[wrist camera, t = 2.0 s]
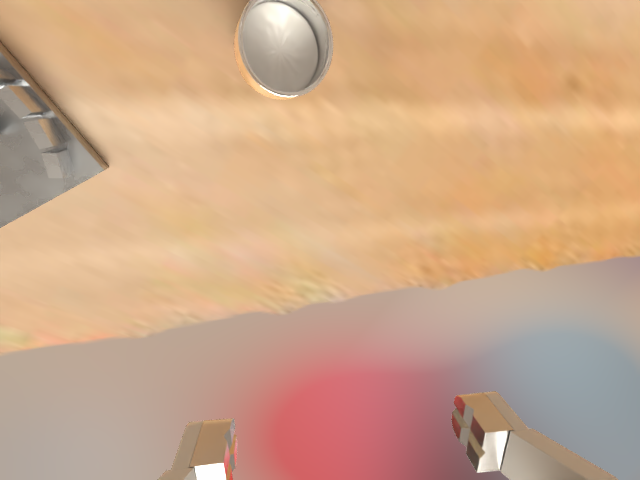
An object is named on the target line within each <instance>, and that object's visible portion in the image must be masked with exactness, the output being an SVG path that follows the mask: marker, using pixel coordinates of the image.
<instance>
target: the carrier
mask: <svg viewBox="0 0 640 480" xmlns="http://www.w3.org/2000/svg"><path fill="white" fill-rule="evenodd" d="M107 168H109V167H108V165H107V164H106V163H105V162H104V161H103V160H102V159H101V157H100V156H99V155H98V154H97V153H96V152H95V150H94V149H93V148H92V147H91V146H90V145H89V144H88V142H87V141H86V140H85V139H84V138H83V137H82V135H81V134H80V133H79V132H78V131H77V130H76V129H75V127H74V126H73V125H72V124H71V123H70V122H69V120H68V119H67V118H66V117H65V116H64V115H63V113H62V112H61V111H60V110H59V109H58V108H57V107H56V105H55V104H54V103H53V102H52V101H51V100H50V98H49V97H48V96H47V95H46V94H45V93H44V92H43V90H42V89H41V88H40V87H39V86H38V85H37V83H36V82H35V81H34V80H33V79H32V78H31V77H30V75H29V74H28V73H27V72H26V71H25V70H24V68H23V67H22V66H21V65H20V64H19V63H18V61H17V60H16V59H15V58H14V57H13V56H12V55H11V53H10V52H9V51H8V50H7V49H6V48H5V46H4V45H3V44H2V43H1V42H0V228H1V227H3V226H5V225H6V224H8V223H10V222H12V221H14V220H15V219H17V218H19V217H21V216H23V215H24V214H26V213H28V212H30V211H32V210H33V209H35V208H37V207H39V206H41V205H42V204H44V203H46V202H48V201H50V200H52V199H53V198H55V197H57V196H59V195H61V194H62V193H64V192H66V191H68V190H70V189H71V188H73V187H75V186H77V185H79V184H80V183H82V182H84V181H86V180H88V179H89V178H91V177H93V176H95V175H97V174H98V173H100V172H102V171H104V170H106V169H107Z"/></svg>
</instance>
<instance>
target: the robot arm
mask: <svg viewBox="0 0 640 480" xmlns="http://www.w3.org/2000/svg"><path fill="white" fill-rule="evenodd" d="M454 405H455V406H456V409H455V410H454V411H453V412H452V418H451V420H452V426H453V430H454V433H455V435H456V437H457V439H458V440H459V442H460V443H462V444H463V445H465V446H466V447H467V448H466V454H467V456H468V458H469V459H470V461H471V463H472V465H473V466H474V468H475V470H476V472H489V471H499V470H501V473H503V474H504V475H505V476H506V477H507V478H508V479H510V480H618V479H617V478H616V477H615V476H613V475H611V474H609V473H608V472H606V471H604V470H602V469H601V468H599V467H597V466H596V465H594V464H592V463H591V462H589V461H587V460H585V459H584V458H582V457H580V456H579V455H577V454H575V453H573V452H572V451H570V450H568V449H567V448H565V447H563V446H562V445H560V444H558V443H556V442H555V441H553V440H551V439H549V438H548V437H546V436H544V435H543V434H541V433H539V432H537V431H536V430H534V429H528V428H527V427H526V425H525V424H524V423H523V422H522V421H521V419H520V418H519V417H518V416H517V415H516V413H515V412H514V411H513V410H512V409H511V407H510V406H509V405H508V404H507V403H506V402H505V400H504V399H503V398H502V397H501V396H500V394H499V393H497V392H496V391H493V392H484V393H474V394H465V395H457V396H456V397H455V398H454ZM234 430H235V423H234V419H219V420H205V421H195V422H189V423H188V424H187V426H186V428H185V431H184V434H183V436H182V440H181V442H180V445H179V448H178V451H177V454H176V457H175V460H174V463H173V465H172V468H171V470H168V471H165V472H164V473H163V475H162V476H161V477H160V478H159V479H158V480H233V476H232V471H233V470H234V469H235V467H236V460H237V437H236V435H235V434H234Z"/></svg>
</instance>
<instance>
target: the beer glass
mask: <svg viewBox="0 0 640 480" xmlns="http://www.w3.org/2000/svg"><path fill="white" fill-rule="evenodd" d="M234 52H235V58H236V62H237V65H238V68H239V70H240V73H241V75H242V77H243V78H244V80H245V81H246V83H247V84H248V85H249V86H250V87H252V88H253V89H254V90H256V91H257V92H259V93H260V94H262V95H264V96H266V97H269V98H272V99H278V100H284V99H292V98H296V97H299V96H302V95H305V94H307V93H309V92H310V91H312V90H313V89H315V88H316V87H317V86H318V85H319V84H320V83H321V81H322V80H323V79H324V77H325V76H326V74H327V72H328V70H329V67H330V64H331V61H332V56H333V35H332V30H331V26H330V23H329V20H328V18H327V16H326V14H325V12H324V10H323V8H322V7H321V5H320V4H319V3H318V2H317V1H316V0H249V2H248V3H247V5H246V6H245V8H244V10H243V12H242V14H241V16H240V18H239V21H238V23H237V27H236V31H235V36H234Z"/></svg>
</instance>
